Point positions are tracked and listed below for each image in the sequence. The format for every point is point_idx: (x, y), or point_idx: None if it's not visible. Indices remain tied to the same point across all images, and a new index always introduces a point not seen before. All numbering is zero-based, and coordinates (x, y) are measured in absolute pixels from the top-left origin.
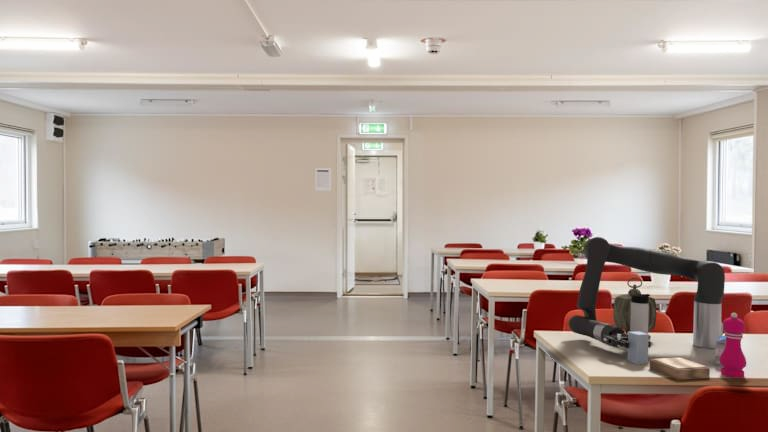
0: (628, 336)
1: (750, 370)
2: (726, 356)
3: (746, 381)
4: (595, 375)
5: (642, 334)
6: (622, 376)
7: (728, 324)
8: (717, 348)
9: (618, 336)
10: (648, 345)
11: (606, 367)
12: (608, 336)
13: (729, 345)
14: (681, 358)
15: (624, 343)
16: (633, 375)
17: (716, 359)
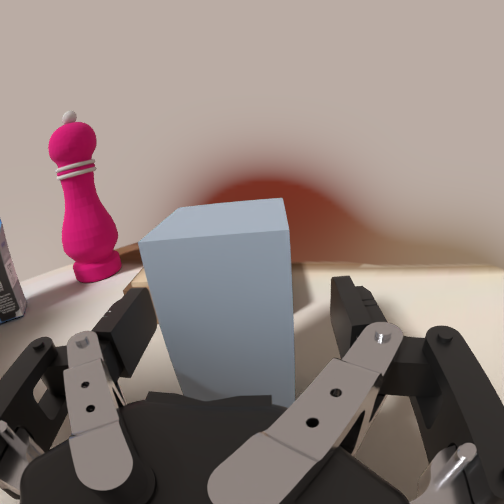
0: (291, 279)
1: (27, 285)
2: (109, 218)
3: (127, 253)
4: (498, 272)
5: (233, 202)
6: (430, 270)
7: (93, 133)
8: (6, 264)
9: (362, 369)
10: (152, 315)
11: (468, 328)
12: (480, 434)
13: (95, 191)
14: (142, 275)
15: (366, 293)
16: (393, 275)
17: (17, 298)
